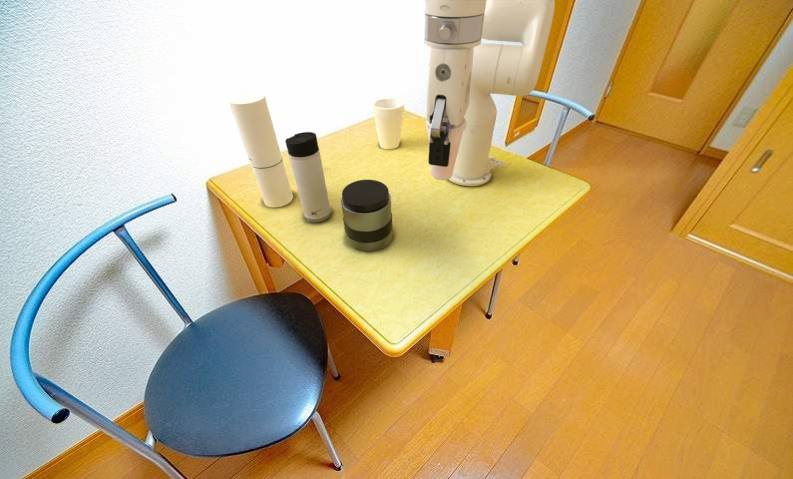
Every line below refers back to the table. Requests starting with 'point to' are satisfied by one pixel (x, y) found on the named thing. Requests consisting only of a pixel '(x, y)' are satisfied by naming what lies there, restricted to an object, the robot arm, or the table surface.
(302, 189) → the travel mug
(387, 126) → the foam cup
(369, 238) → the jar
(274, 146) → the cylindrical container
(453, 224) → the table surface
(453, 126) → the smoothie
